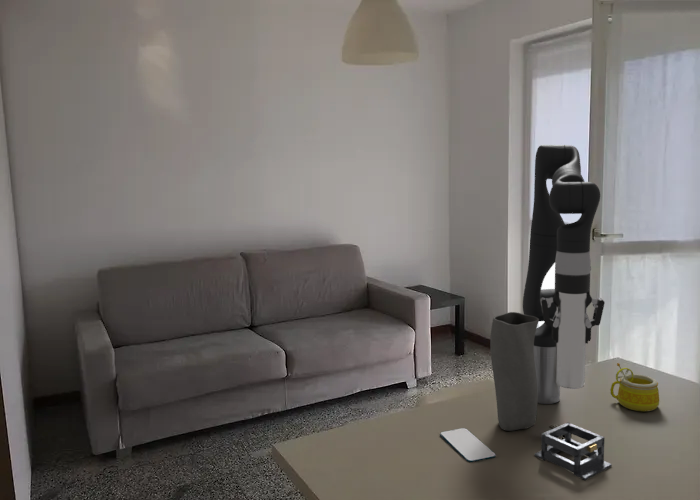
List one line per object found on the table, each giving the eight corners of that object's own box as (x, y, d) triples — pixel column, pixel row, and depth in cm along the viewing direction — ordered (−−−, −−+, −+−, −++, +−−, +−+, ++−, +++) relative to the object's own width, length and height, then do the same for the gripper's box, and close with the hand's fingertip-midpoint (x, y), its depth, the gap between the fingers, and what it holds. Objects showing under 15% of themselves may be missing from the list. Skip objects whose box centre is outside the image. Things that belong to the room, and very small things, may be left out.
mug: (660, 402, 172) (662, 362, 170) (656, 417, 163) (658, 375, 161) (613, 394, 179) (614, 356, 177) (606, 407, 170) (608, 367, 168)
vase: (507, 439, 153) (508, 326, 149) (482, 420, 165) (482, 315, 160) (547, 431, 157) (549, 321, 153) (520, 413, 169) (521, 310, 164)
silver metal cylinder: (573, 391, 134) (576, 282, 130) (549, 382, 139) (551, 278, 136) (590, 384, 138) (593, 278, 134) (566, 376, 143) (568, 274, 139)
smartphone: (497, 459, 145) (465, 430, 160) (497, 455, 144) (465, 427, 160) (468, 465, 142) (438, 435, 157) (468, 461, 142) (438, 432, 157)
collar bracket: (534, 455, 144) (534, 430, 143) (560, 443, 150) (560, 419, 149) (585, 480, 133) (585, 453, 132) (611, 466, 138) (612, 440, 137)
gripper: (602, 267, 137) (600, 338, 139) (537, 267, 139) (536, 336, 142) (610, 273, 130) (607, 348, 132) (541, 273, 132) (540, 346, 135)
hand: (570, 341), depth 137 cm, fingers closed on silver metal cylinder, 5 cm apart
